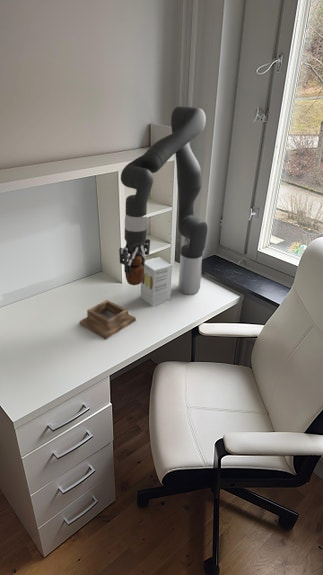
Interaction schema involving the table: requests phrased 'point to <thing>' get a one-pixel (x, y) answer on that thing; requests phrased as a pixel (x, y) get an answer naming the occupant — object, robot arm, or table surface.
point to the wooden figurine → (135, 271)
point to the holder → (107, 319)
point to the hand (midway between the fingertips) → (134, 270)
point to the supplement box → (156, 281)
